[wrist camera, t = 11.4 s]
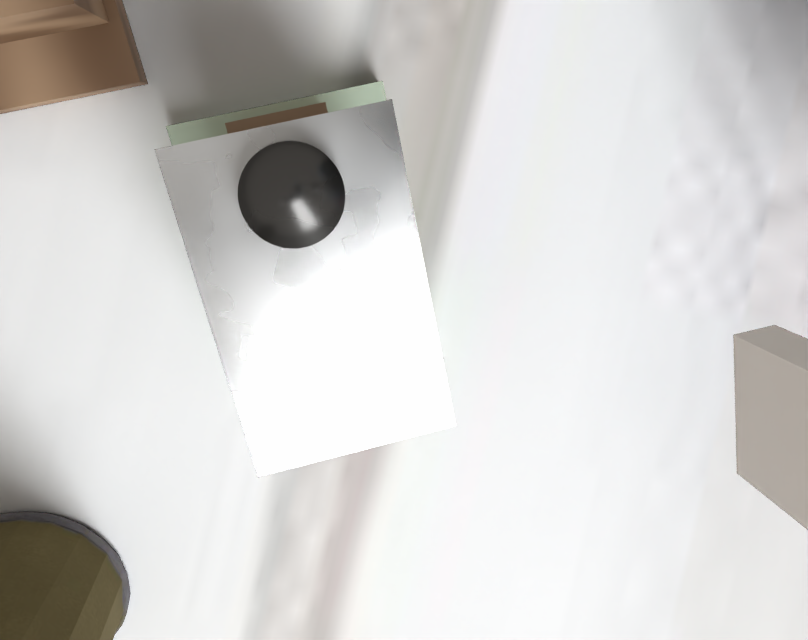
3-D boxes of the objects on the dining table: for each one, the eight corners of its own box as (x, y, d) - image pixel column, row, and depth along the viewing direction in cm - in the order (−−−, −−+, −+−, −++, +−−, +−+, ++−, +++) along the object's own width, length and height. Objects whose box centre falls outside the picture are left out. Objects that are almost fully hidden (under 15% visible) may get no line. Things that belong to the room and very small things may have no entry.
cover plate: (435, 387, 26) (464, 441, 21) (263, 431, 25) (256, 496, 21) (377, 103, 22) (397, 97, 18) (176, 145, 22) (145, 151, 17)
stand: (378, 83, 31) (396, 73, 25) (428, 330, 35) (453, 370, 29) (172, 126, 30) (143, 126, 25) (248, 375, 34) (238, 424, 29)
